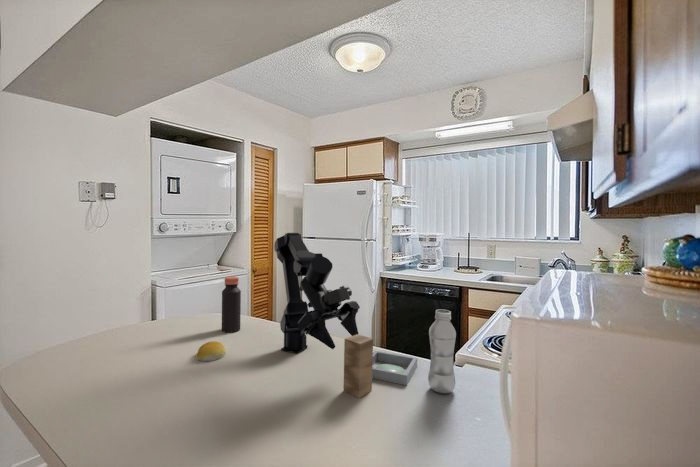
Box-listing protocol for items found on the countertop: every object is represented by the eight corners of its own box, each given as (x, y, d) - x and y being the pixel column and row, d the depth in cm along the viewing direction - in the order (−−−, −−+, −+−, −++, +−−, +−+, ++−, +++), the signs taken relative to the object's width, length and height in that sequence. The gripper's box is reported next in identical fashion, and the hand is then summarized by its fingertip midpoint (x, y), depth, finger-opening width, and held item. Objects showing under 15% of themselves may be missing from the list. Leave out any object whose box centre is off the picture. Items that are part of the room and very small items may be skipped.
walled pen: (359, 375, 92) (360, 366, 92) (375, 358, 104) (375, 350, 104) (406, 385, 87) (407, 375, 87) (417, 366, 99) (417, 357, 99)
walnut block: (343, 390, 84) (344, 338, 83) (356, 383, 87) (357, 334, 87) (359, 397, 80) (360, 343, 80) (371, 390, 84) (373, 338, 84)
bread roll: (194, 363, 98) (194, 350, 98) (199, 352, 107) (199, 339, 107) (224, 361, 100) (224, 347, 100) (227, 350, 109) (227, 337, 109)
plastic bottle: (454, 399, 81) (456, 316, 80) (425, 393, 83) (427, 312, 82) (455, 387, 87) (458, 309, 86) (429, 382, 89) (431, 307, 88)
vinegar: (226, 327, 132) (227, 276, 132) (243, 327, 132) (243, 276, 131) (218, 332, 126) (218, 279, 125) (235, 333, 125) (236, 279, 124)
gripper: (305, 279, 82) (338, 334, 75) (355, 272, 96) (386, 318, 89) (285, 306, 87) (313, 360, 80) (334, 296, 102) (362, 341, 95)
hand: (346, 343), depth 86 cm, fingers open, 9 cm apart
